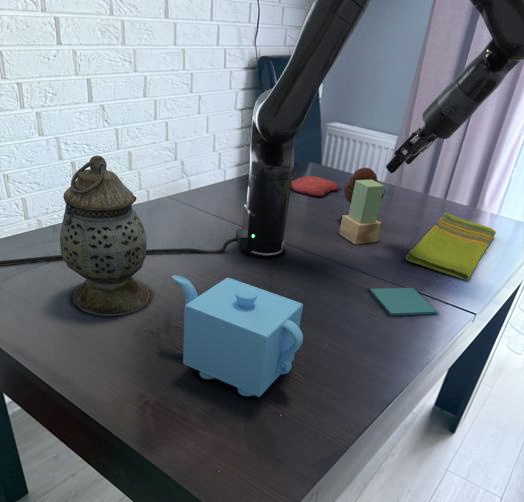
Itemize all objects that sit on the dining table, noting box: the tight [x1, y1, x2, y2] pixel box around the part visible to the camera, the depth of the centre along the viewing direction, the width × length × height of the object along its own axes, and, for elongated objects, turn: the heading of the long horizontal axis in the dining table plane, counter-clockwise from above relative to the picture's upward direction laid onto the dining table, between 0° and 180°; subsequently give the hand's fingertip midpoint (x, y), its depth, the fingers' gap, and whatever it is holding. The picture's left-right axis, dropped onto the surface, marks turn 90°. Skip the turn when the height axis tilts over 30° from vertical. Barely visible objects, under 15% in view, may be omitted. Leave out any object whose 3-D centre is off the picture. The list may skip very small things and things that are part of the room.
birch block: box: [338, 214, 382, 245], centre depth 128 cm, size 7×7×5 cm
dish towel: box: [405, 212, 497, 281], centre depth 129 cm, size 15×36×3 cm, turn 150°
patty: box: [291, 175, 340, 198], centre depth 161 cm, size 18×14×2 cm
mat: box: [369, 287, 437, 317], centre depth 103 cm, size 10×10×1 cm
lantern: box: [59, 155, 151, 317], centre depth 85 cm, size 14×14×25 cm
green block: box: [347, 180, 385, 223], centre depth 124 cm, size 5×5×9 cm
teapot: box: [171, 274, 304, 398], centre depth 75 cm, size 22×11×14 cm, turn 61°
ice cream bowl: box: [343, 167, 386, 205], centre depth 134 cm, size 11×11×15 cm
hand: (397, 165), depth 114 cm, fingers open, 8 cm apart
